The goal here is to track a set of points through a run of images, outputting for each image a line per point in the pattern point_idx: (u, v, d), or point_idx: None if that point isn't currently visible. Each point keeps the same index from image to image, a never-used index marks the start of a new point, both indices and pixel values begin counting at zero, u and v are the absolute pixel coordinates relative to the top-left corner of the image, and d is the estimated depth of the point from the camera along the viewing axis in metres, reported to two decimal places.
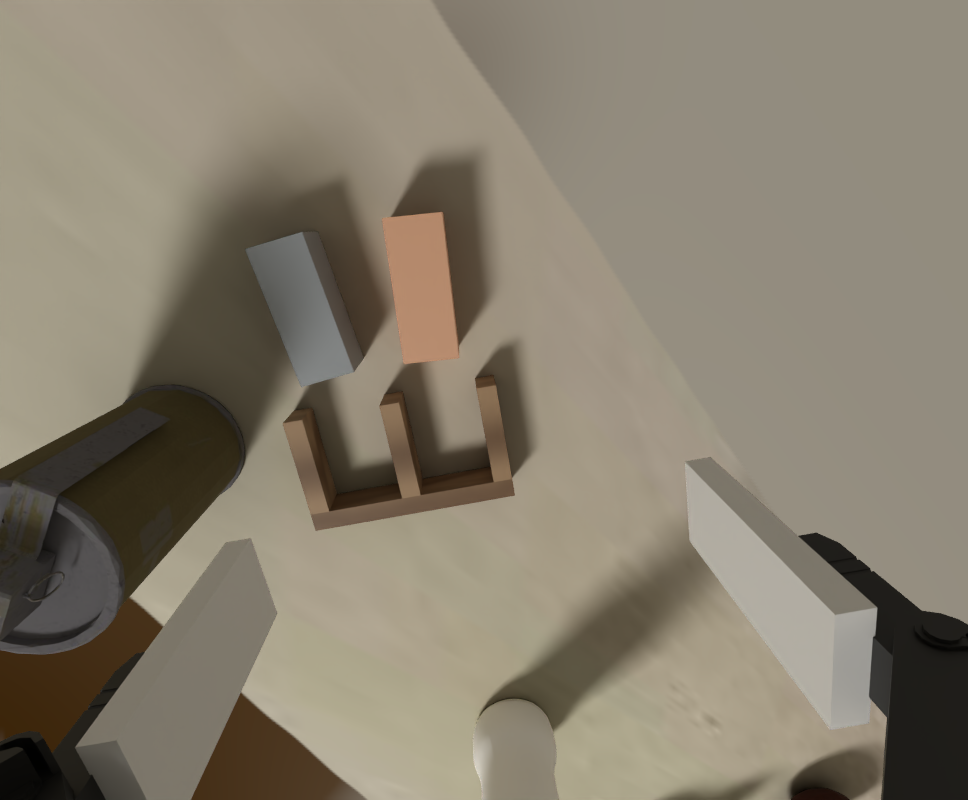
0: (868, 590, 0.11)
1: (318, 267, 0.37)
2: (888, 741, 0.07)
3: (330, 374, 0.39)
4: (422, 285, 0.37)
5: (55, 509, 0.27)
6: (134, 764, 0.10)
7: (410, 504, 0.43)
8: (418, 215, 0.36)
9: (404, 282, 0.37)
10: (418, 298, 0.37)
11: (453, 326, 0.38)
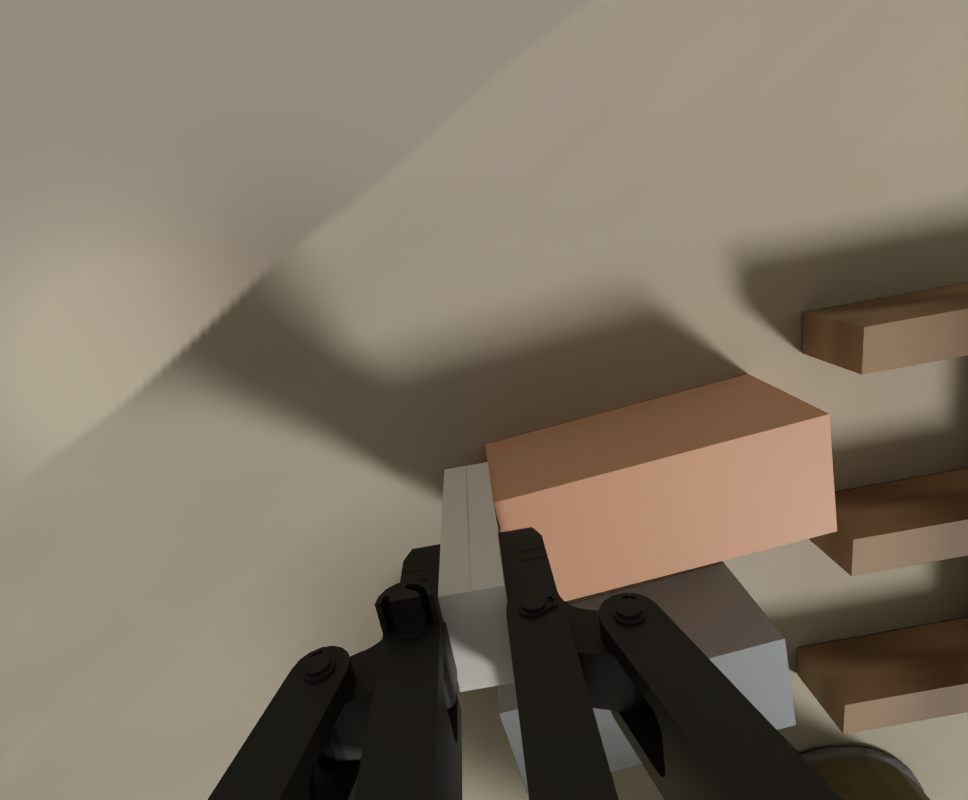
0: (532, 574, 0.13)
1: None
2: (519, 715, 0.09)
3: (781, 677, 0.19)
4: (658, 517, 0.16)
5: None
6: (476, 615, 0.12)
7: None
8: None
9: (653, 554, 0.17)
10: (686, 523, 0.16)
11: (751, 439, 0.15)
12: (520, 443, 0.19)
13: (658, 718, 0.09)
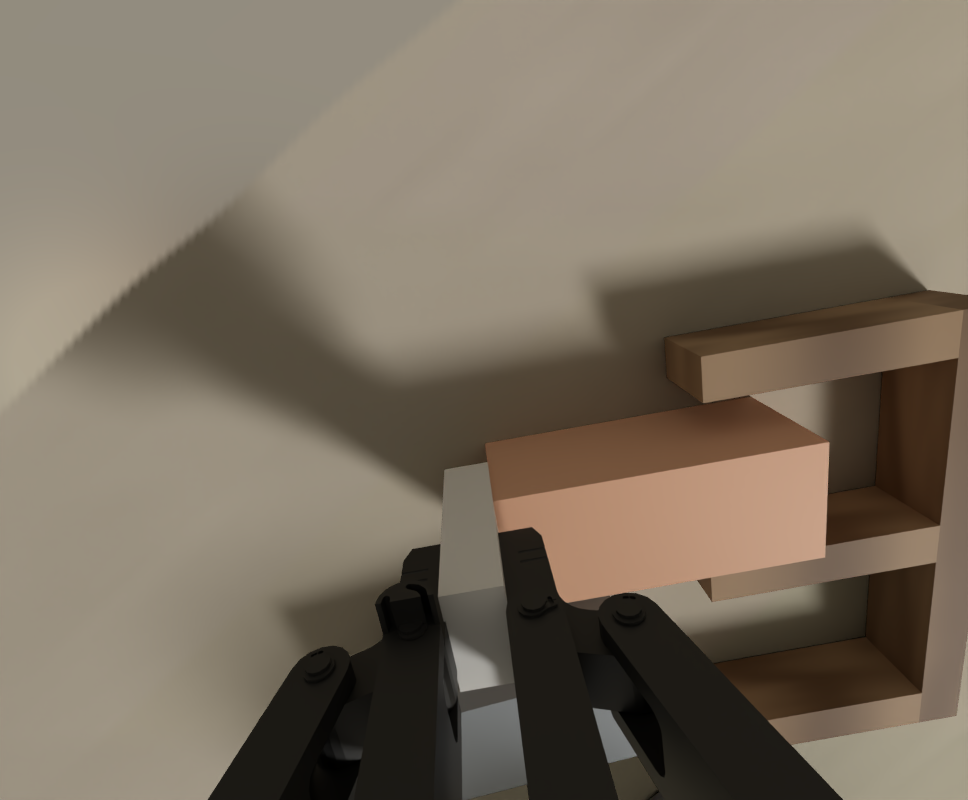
0: (531, 574, 0.13)
1: None
2: (519, 715, 0.09)
3: None
4: (653, 530, 0.16)
5: None
6: (476, 615, 0.12)
7: (956, 546, 0.19)
8: None
9: (645, 565, 0.17)
10: (680, 537, 0.16)
11: (751, 460, 0.16)
12: (520, 444, 0.19)
13: (658, 718, 0.09)
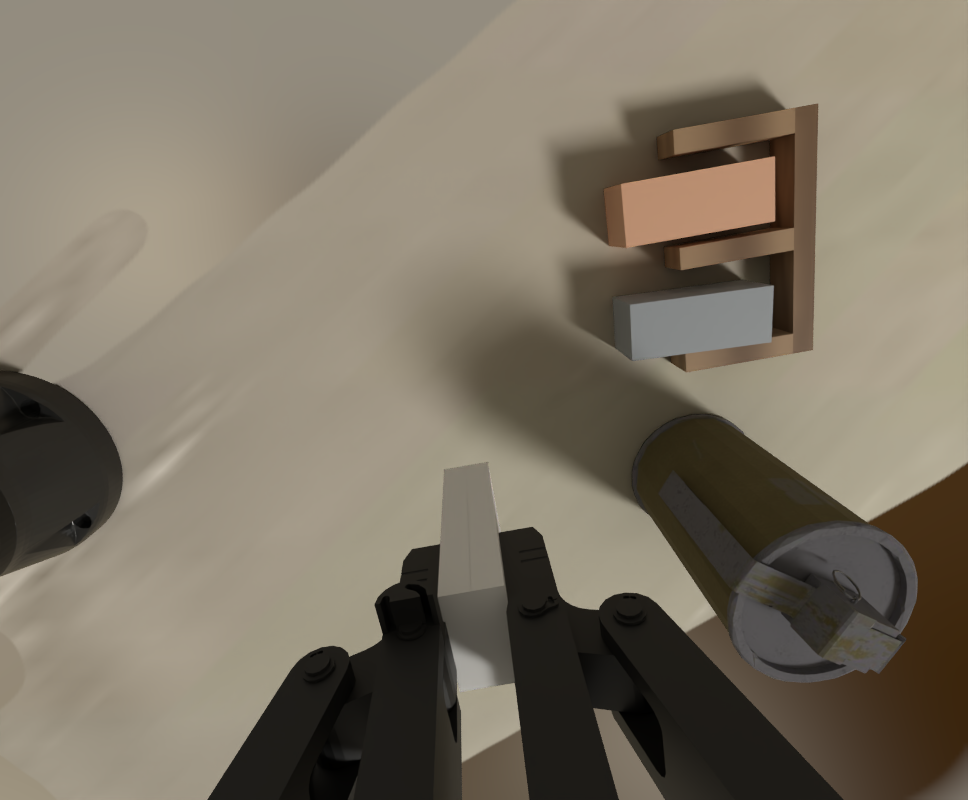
0: (532, 574, 0.13)
1: (660, 298, 0.38)
2: (520, 715, 0.09)
3: (768, 310, 0.37)
4: (694, 202, 0.35)
5: (767, 564, 0.28)
6: (476, 614, 0.12)
7: (803, 240, 0.37)
8: (624, 209, 0.35)
9: (689, 222, 0.35)
10: (706, 207, 0.35)
11: (739, 164, 0.34)
12: None
13: (658, 718, 0.09)
